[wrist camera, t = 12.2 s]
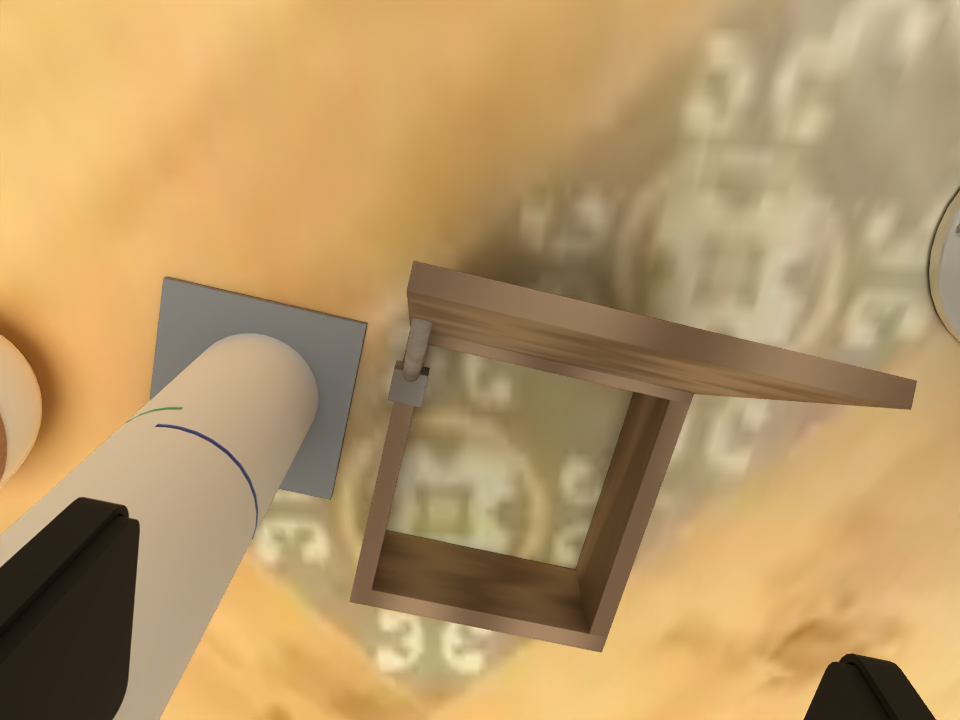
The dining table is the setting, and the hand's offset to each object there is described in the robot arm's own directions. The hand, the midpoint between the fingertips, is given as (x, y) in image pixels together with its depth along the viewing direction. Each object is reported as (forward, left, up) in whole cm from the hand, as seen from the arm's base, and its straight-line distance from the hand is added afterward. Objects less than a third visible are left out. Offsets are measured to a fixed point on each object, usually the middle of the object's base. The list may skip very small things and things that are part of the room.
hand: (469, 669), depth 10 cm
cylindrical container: (+10, +11, -32) cm, 35 cm away
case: (-5, +8, -32) cm, 33 cm away
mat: (+10, +11, -32) cm, 35 cm away
